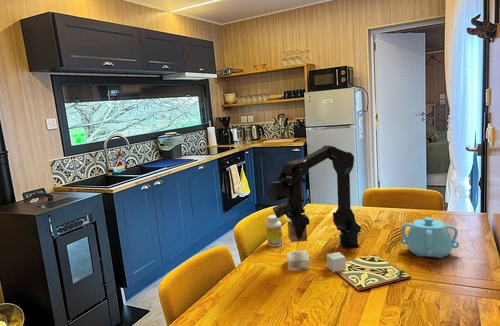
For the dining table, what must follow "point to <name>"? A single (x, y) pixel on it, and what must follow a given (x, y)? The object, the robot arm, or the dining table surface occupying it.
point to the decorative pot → (429, 238)
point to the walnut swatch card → (300, 251)
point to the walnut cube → (293, 234)
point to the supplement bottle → (274, 231)
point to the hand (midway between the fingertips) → (297, 236)
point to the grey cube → (336, 261)
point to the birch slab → (298, 261)
